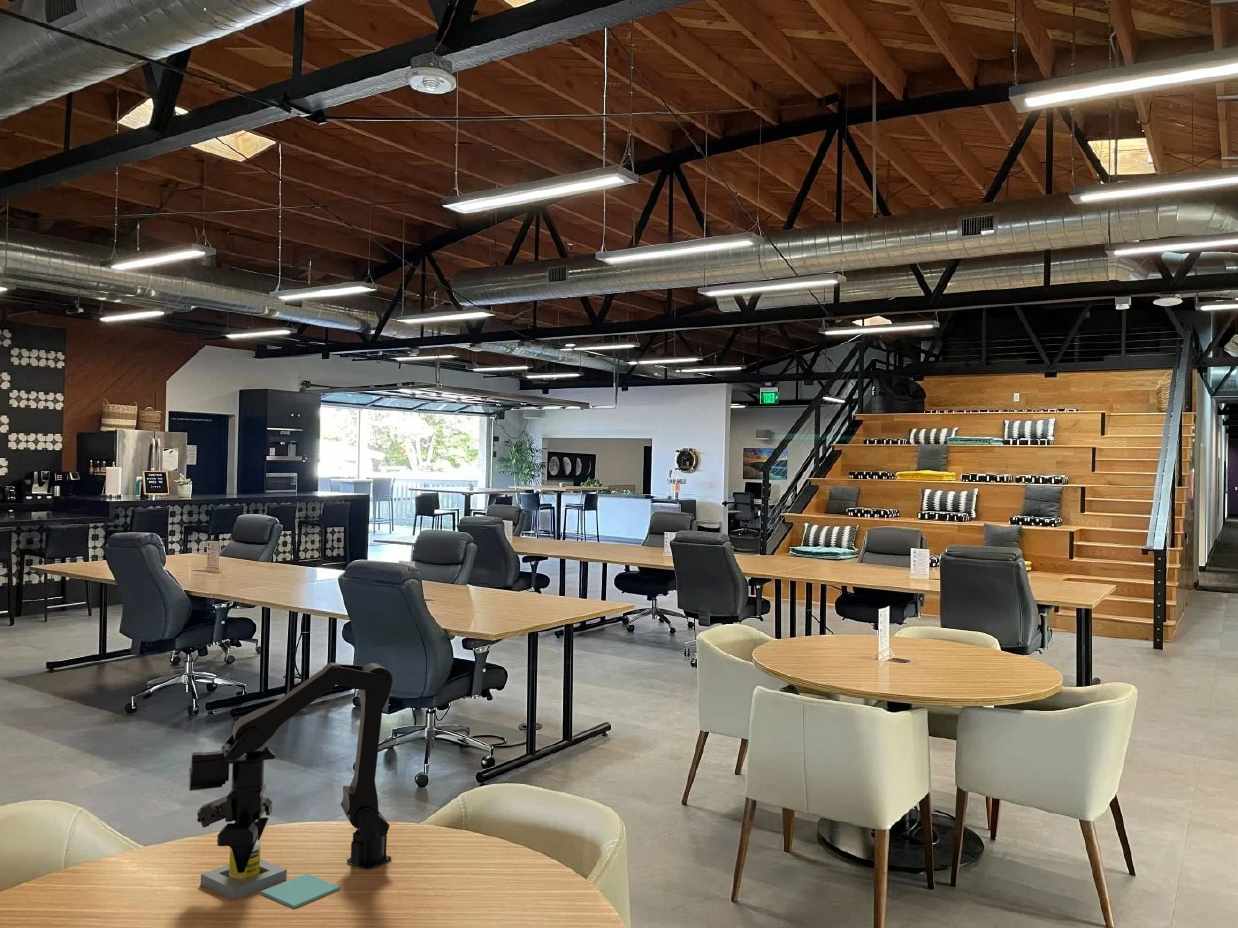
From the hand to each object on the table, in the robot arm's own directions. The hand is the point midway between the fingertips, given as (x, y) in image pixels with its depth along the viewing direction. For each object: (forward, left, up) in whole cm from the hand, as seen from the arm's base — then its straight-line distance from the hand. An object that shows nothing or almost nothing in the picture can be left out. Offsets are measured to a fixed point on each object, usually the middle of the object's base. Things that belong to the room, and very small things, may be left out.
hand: (244, 866), depth 171 cm
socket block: (0, 0, -3) cm, 3 cm away
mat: (-4, +12, -3) cm, 13 cm away
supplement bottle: (0, 0, -3) cm, 3 cm away
